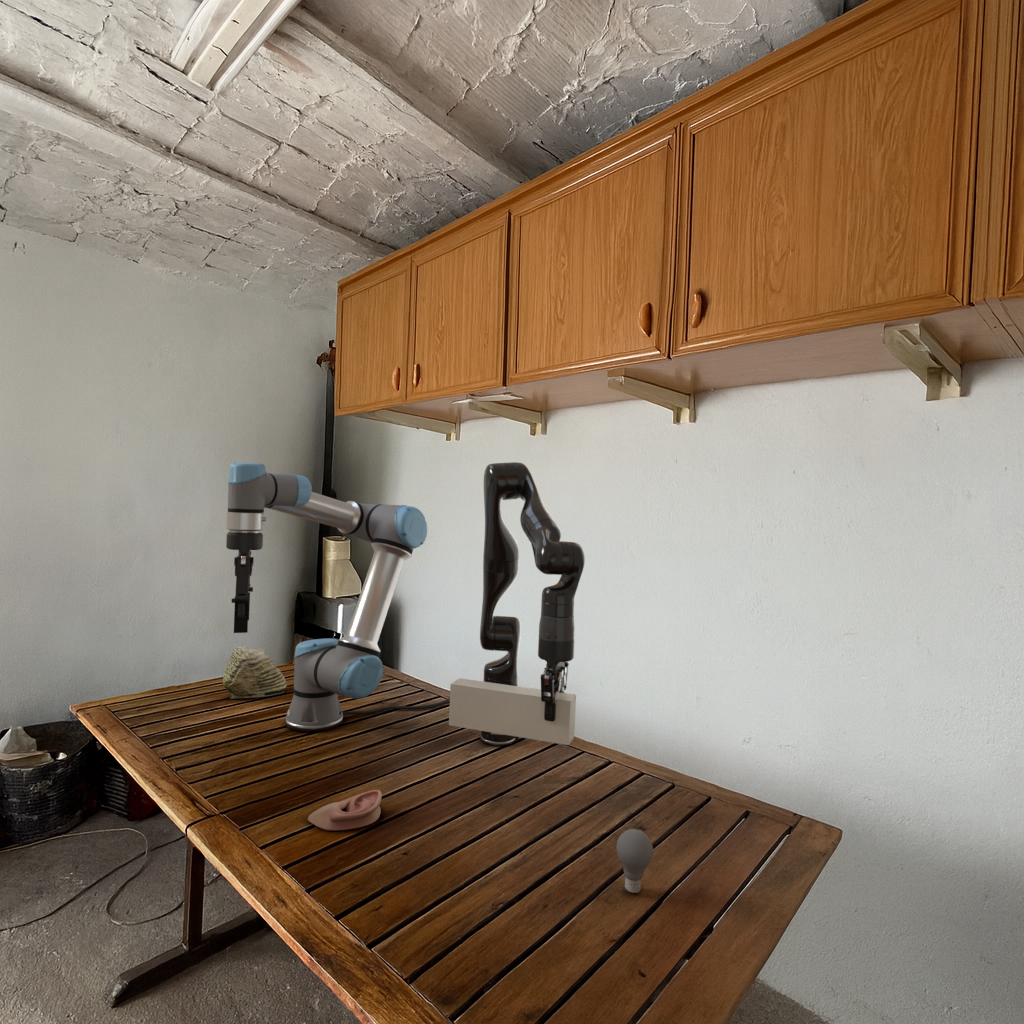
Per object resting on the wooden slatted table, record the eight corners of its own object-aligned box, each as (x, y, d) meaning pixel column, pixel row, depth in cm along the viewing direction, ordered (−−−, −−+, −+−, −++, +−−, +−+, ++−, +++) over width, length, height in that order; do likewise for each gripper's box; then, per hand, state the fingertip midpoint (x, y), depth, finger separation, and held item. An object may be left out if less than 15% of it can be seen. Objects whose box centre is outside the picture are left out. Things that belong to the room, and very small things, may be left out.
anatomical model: (300, 805, 121) (329, 780, 132) (299, 826, 121) (328, 798, 133) (364, 815, 119) (388, 788, 130) (363, 836, 119) (387, 807, 130)
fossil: (218, 695, 195) (220, 647, 195) (278, 685, 208) (279, 640, 207) (228, 703, 189) (230, 653, 188) (289, 692, 201) (290, 645, 201)
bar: (448, 725, 138) (450, 683, 138) (457, 718, 143) (459, 678, 143) (568, 745, 130) (570, 701, 130) (574, 737, 134) (576, 694, 134)
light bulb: (610, 879, 108) (613, 822, 108) (644, 879, 109) (647, 822, 109) (619, 902, 102) (622, 840, 102) (655, 901, 103) (658, 840, 103)
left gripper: (263, 535, 131) (259, 637, 132) (263, 528, 154) (260, 615, 155) (223, 535, 129) (219, 639, 129) (229, 528, 152) (226, 616, 152)
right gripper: (565, 644, 125) (562, 730, 125) (581, 631, 139) (578, 709, 139) (529, 640, 128) (525, 724, 128) (548, 628, 141) (545, 704, 141)
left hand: (241, 626), depth 142 cm, fingers open, 13 cm apart
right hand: (553, 716), depth 133 cm, fingers closed on bar, 5 cm apart
